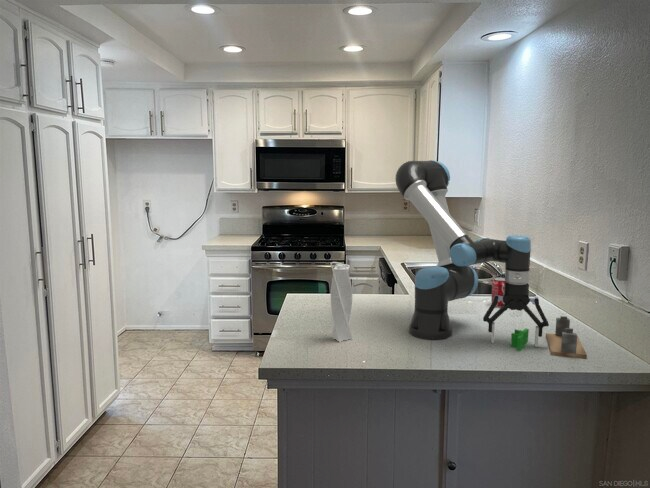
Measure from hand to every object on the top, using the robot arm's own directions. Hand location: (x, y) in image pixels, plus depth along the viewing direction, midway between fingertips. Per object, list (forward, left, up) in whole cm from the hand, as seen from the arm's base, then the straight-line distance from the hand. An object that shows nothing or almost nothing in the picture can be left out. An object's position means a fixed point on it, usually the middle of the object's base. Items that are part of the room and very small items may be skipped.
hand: (514, 343), depth 163 cm
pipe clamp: (+1, 0, 0) cm, 2 cm away
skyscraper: (-57, -13, 0) cm, 59 cm away
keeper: (+16, +2, 0) cm, 16 cm away
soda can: (-4, +47, 0) cm, 47 cm away
